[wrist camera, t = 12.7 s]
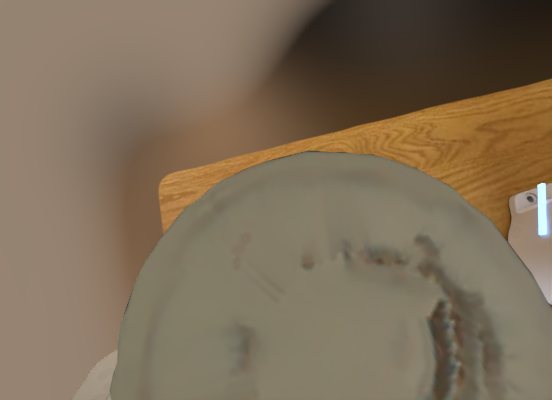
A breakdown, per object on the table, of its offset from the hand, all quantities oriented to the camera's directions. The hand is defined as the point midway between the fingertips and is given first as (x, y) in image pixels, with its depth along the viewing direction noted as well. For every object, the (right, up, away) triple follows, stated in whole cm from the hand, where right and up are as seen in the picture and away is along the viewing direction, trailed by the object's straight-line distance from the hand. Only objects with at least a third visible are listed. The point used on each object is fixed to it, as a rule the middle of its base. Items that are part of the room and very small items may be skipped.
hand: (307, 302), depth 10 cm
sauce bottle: (+1, -4, +11) cm, 12 cm away
